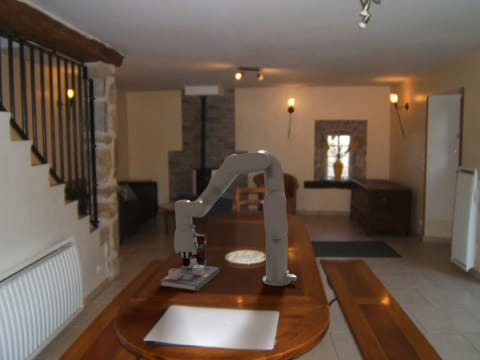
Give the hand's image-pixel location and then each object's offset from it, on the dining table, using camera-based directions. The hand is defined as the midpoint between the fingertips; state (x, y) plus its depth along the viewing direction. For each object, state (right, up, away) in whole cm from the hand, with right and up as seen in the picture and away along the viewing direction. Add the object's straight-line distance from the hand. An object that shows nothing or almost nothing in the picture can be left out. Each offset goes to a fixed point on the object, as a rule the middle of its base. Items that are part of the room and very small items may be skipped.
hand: (186, 265), depth 191 cm
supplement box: (+3, -4, +20) cm, 20 cm away
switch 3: (+6, -3, -2) cm, 7 cm away
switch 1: (-4, -4, -7) cm, 9 cm away
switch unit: (+2, -6, 0) cm, 6 cm away
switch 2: (+1, -2, +8) cm, 9 cm away
